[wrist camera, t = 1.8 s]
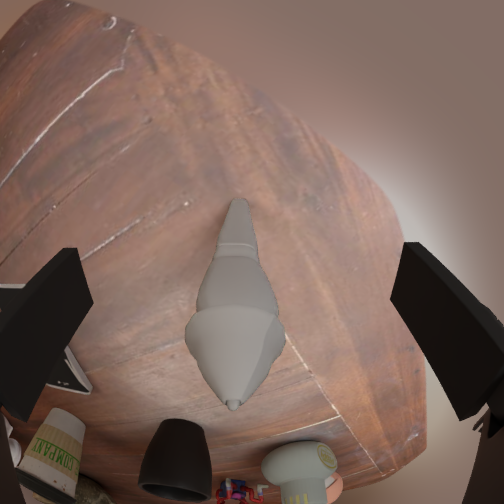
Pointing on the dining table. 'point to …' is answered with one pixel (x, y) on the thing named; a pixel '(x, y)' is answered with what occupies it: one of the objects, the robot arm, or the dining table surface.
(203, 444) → the mug
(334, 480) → the toy ball
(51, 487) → the coffee cup
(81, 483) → the bowl
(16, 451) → the housing
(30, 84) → the dining table surface
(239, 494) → the figurine
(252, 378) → the grey tapered rod
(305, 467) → the air freshener
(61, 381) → the smartphone
